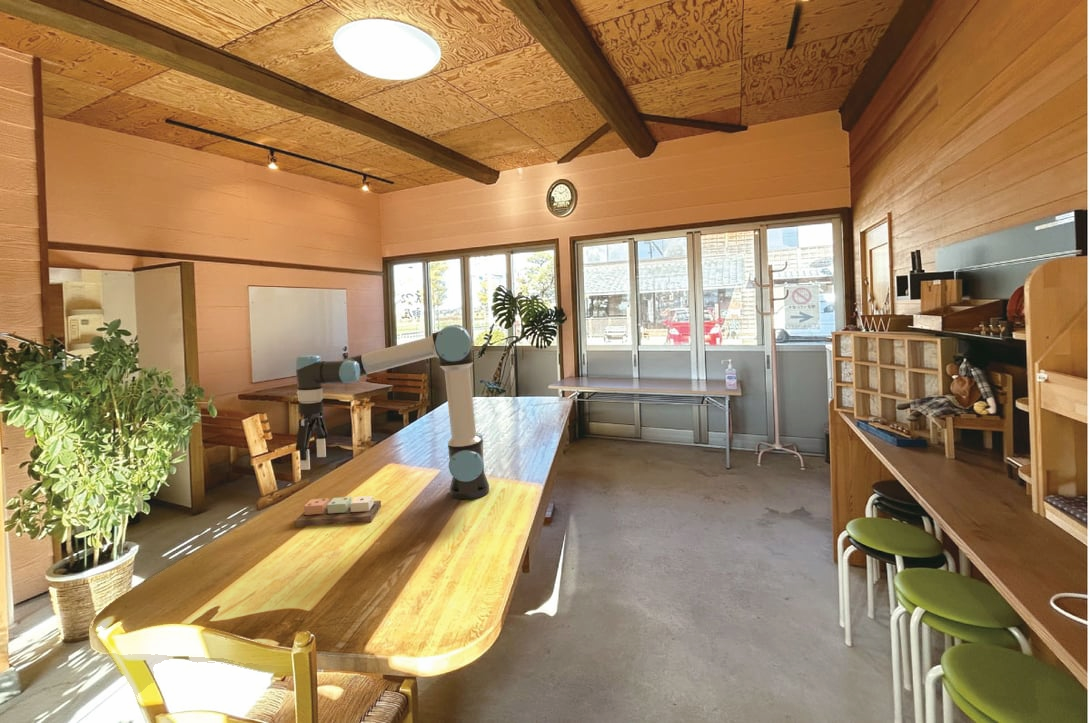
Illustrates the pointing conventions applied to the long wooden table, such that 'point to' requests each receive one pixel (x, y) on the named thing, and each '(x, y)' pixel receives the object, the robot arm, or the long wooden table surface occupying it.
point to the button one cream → (361, 503)
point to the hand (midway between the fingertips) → (313, 462)
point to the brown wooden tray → (339, 517)
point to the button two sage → (339, 505)
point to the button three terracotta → (316, 506)
